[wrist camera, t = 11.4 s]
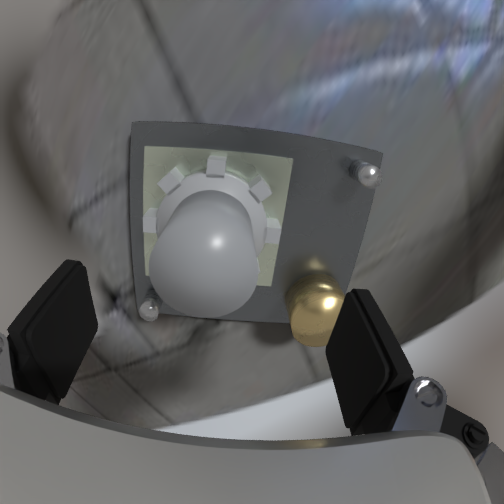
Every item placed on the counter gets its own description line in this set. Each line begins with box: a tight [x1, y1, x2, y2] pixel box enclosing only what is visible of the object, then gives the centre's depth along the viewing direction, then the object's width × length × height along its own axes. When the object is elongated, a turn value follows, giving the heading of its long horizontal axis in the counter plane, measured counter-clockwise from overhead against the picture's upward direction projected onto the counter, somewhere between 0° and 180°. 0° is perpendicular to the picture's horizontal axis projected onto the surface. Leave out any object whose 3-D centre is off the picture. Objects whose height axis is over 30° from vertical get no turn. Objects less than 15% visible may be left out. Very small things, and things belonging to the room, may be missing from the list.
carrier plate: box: [130, 121, 383, 347], centre depth 18 cm, size 16×14×4 cm
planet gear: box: [143, 155, 282, 318], centre depth 15 cm, size 8×8×7 cm
